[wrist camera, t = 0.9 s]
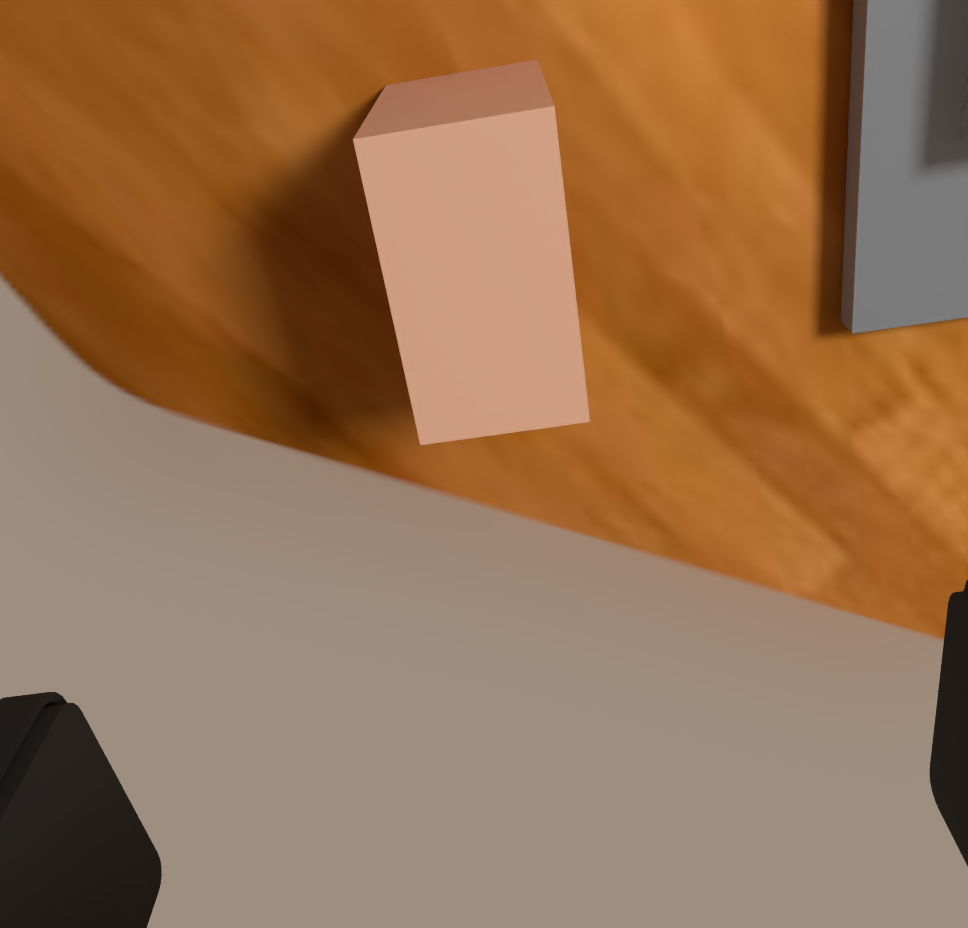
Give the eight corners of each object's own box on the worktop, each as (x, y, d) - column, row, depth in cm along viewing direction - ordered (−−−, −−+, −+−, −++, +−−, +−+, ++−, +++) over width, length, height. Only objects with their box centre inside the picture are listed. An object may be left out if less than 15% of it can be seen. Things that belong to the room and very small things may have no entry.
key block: (385, 85, 24) (352, 139, 18) (537, 59, 24) (554, 105, 18) (434, 331, 28) (420, 445, 22) (566, 311, 27) (589, 421, 21)
